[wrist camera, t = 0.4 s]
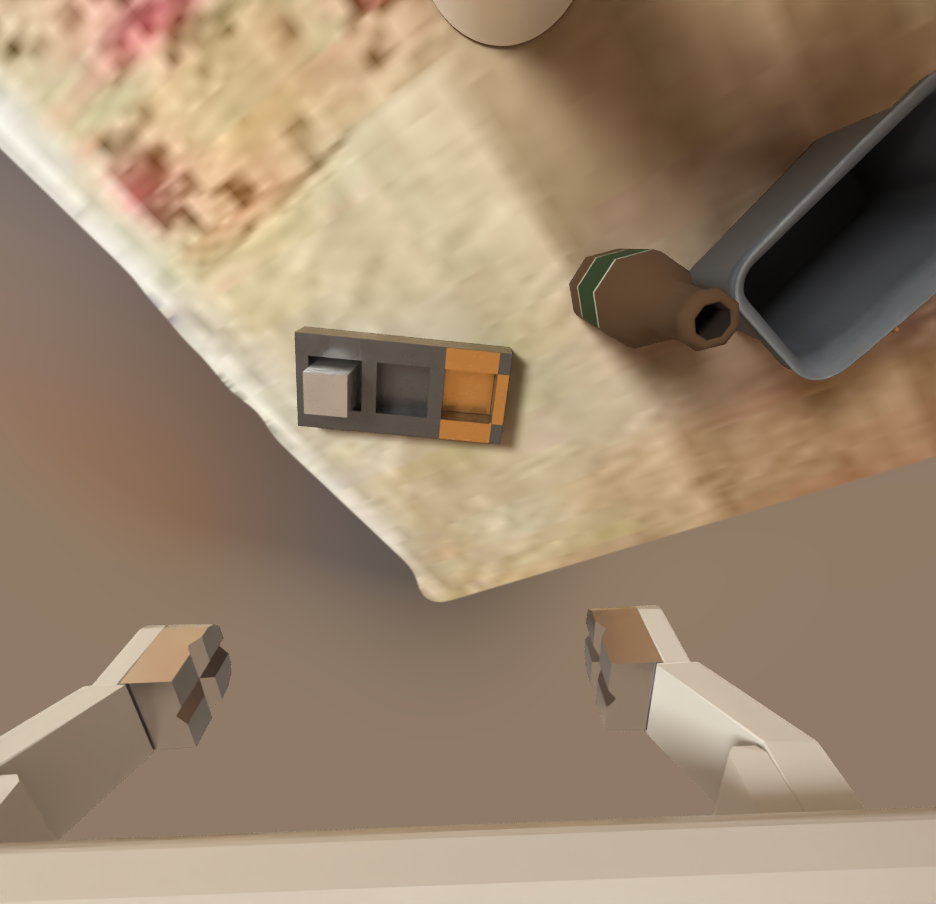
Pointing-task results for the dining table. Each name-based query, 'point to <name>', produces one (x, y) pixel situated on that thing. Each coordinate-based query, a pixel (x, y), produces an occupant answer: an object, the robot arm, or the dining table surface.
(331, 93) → the dining table surface
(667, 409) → the dining table surface
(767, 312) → the storage bin
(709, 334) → the beer bottle
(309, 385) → the block
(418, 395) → the grey tray
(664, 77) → the dining table surface
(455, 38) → the dining table surface
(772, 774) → the robot arm
